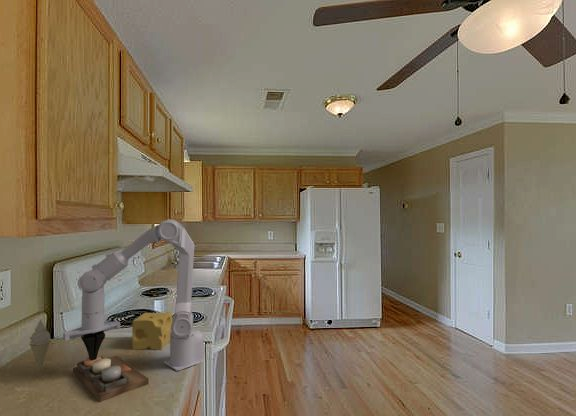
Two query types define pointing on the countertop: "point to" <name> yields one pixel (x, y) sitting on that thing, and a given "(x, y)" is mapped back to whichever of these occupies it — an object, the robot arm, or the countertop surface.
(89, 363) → the terracotta button
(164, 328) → the cheese
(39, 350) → the ice cream cone
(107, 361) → the cream button
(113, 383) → the button panel
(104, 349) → the countertop surface
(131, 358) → the countertop surface
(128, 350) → the countertop surface
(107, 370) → the slate button
